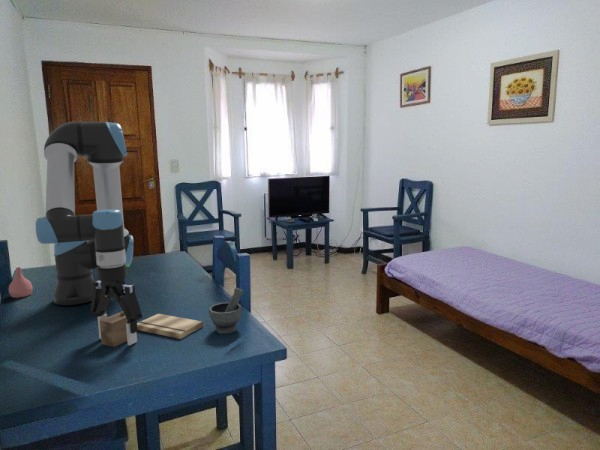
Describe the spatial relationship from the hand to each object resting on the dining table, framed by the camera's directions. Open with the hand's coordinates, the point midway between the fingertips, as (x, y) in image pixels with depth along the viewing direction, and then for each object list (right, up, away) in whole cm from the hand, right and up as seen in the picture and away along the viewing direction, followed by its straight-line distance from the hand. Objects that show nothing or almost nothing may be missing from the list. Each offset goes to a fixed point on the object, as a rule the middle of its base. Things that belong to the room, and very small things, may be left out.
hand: (118, 340), depth 121 cm
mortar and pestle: (+30, +1, +7) cm, 31 cm away
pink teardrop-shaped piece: (-55, +5, +41) cm, 69 cm away
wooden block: (0, 0, 0) cm, 0 cm away
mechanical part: (-29, +12, +85) cm, 91 cm away
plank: (+12, +1, +9) cm, 15 cm away
